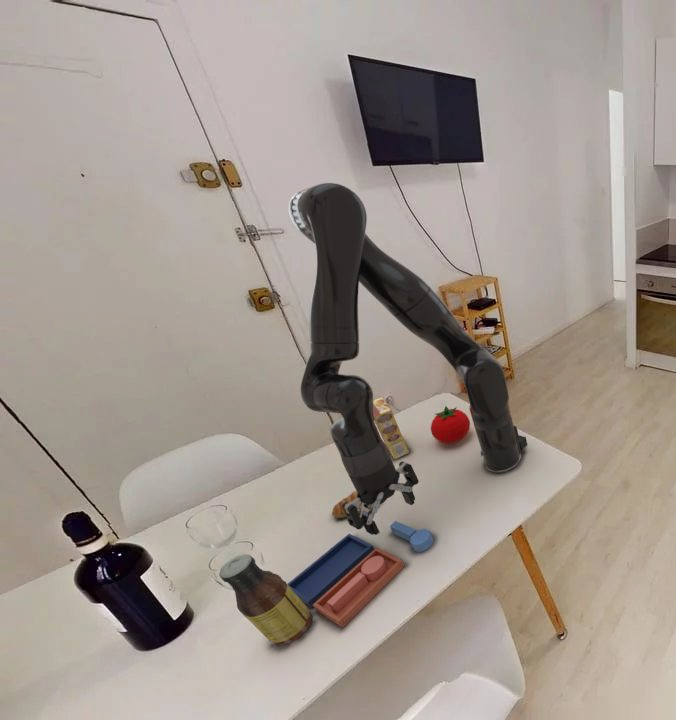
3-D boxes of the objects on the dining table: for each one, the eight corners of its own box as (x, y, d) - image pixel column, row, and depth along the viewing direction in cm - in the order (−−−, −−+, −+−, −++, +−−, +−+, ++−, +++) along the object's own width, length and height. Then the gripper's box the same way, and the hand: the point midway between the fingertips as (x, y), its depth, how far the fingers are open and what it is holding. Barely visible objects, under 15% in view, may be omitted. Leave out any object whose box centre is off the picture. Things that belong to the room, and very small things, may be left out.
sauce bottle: (286, 613, 77) (232, 545, 67) (321, 609, 78) (272, 542, 68) (261, 651, 72) (198, 584, 62) (299, 647, 72) (241, 580, 62)
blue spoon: (388, 537, 91) (384, 530, 90) (403, 524, 94) (400, 516, 93) (422, 554, 87) (418, 546, 86) (437, 539, 90) (433, 531, 89)
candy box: (410, 453, 116) (392, 409, 108) (394, 460, 113) (374, 416, 106) (400, 438, 121) (382, 396, 114) (384, 445, 119) (365, 402, 111)
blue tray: (352, 539, 91) (349, 533, 90) (375, 551, 88) (372, 545, 87) (288, 592, 81) (283, 586, 80) (312, 608, 78) (307, 602, 77)
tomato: (436, 454, 115) (426, 426, 110) (435, 433, 123) (425, 406, 118) (475, 443, 118) (466, 415, 113) (471, 423, 127) (463, 397, 122)
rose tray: (379, 553, 88) (376, 547, 87) (404, 566, 85) (401, 560, 84) (316, 611, 77) (312, 605, 76) (342, 628, 75) (338, 622, 74)
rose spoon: (341, 615, 76) (336, 608, 75) (328, 607, 77) (322, 599, 76) (391, 567, 84) (387, 559, 83) (378, 560, 86) (374, 552, 85)
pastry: (336, 526, 94) (329, 515, 92) (333, 508, 99) (326, 497, 97) (381, 505, 99) (375, 494, 97) (376, 489, 104) (371, 478, 102)
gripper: (388, 435, 88) (409, 489, 96) (319, 480, 77) (350, 536, 85) (412, 445, 86) (432, 499, 93) (344, 492, 74) (374, 550, 82)
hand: (393, 517), depth 89 cm, fingers open, 8 cm apart
